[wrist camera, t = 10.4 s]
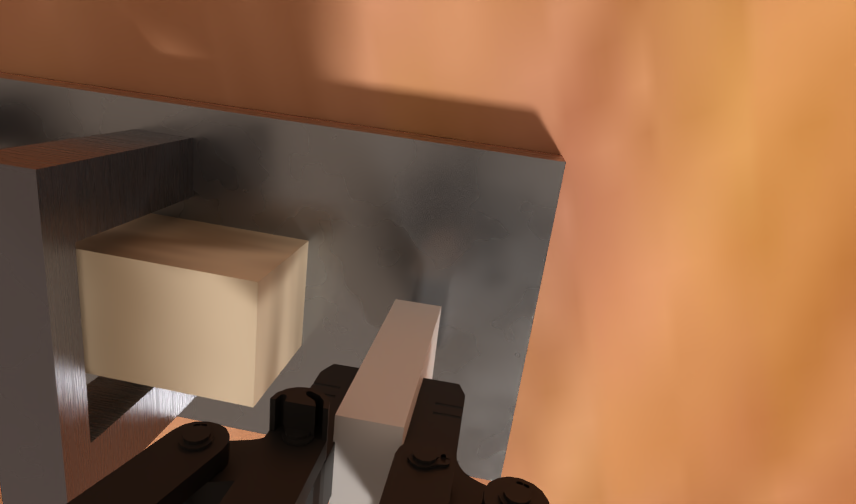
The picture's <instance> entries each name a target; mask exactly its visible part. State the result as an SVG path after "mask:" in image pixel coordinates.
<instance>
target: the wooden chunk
mask: <svg viewBox="0 0 856 504" xmlns="http://www.w3.org/2000/svg"><path fill="white" fill-rule="evenodd" d="M308 243H309V241H308V240H302V239H296V238H290V237H285V236H279V235H273V234H268V233H262V232H256V231H250V230H245V229H239V228H233V227H227V226H222V225H216V224H210V223H205V222H199V221H193V220H187V219H182V218H176V217H170V216H164V215H159V214H153V213H150V214H147V215H145V216H142V217H140V218H137V219H134V220H132V221H129V222H127V223H124V224H122V225H119V226H116V227H114V228H111V229H109V230H106V231H104V232H101V233H98V234H96V235H93V236H91V237H88V238H86V239H83V240H80V241H78V242H75V244H76V258H77V271H78V284H79V297H80V310H81V323H82V336H83V349H84V362H85V373H88V374H93V375H98V376H103V377H108V378H113V379H117V380H122V381H127V382H132V383H137V384H142V385H147V386H151V387H156V388H161V389H166V390H171V391H176V392H181V393H185V394H190V395H195V396H200V397H205V398H210V399H215V400H220V401H224V402H229V403H234V404H239V405H244V406H249V407H254V406H255V405H256V403H257V402H258V401H259V400H260V398H261V397H262V396H263V394H264V393H265V392H266V391H267V389H268V388H269V387H270V385H271V384H272V383H273V382H274V380H275V379H276V378H277V376H278V375H279V374H280V372H281V371H282V370H283V369H284V367H285V366H286V365H287V363H288V362H289V361H290V360H291V358H292V357H293V356H294V354H295V353H296V352H297V351H298V349H299V348H300V347H301V345H302V331H303V316H304V301H305V287H306V272H307V258H308Z"/></svg>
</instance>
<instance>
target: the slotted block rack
mask: <svg viewBox="0 0 856 504" xmlns="http://www.w3.org/2000/svg"><path fill="white" fill-rule="evenodd" d="M565 164H566V161H565V160H564V158H563V156H562V155H557V154H550V153H543V152H536V151H530V150H523V149H516V148H509V147H503V146H496V145H489V144H482V143H476V142H469V141H462V140H455V139H449V138H442V137H435V136H428V135H422V134H415V133H408V132H401V131H395V130H388V129H381V128H374V127H368V126H361V125H354V124H347V123H340V122H334V121H327V120H320V119H313V118H307V117H300V116H293V115H286V114H280V113H273V112H266V111H259V110H253V109H246V108H239V107H232V106H226V105H219V104H212V103H205V102H199V101H192V100H185V99H178V98H172V97H165V96H158V95H151V94H145V93H138V92H131V91H124V90H118V89H111V88H104V87H97V86H91V85H84V84H77V83H70V82H64V81H57V80H50V79H43V78H37V77H30V76H23V75H16V74H10V73H3V72H0V486H1V493H2V500H3V504H67V503H68V502H70V501H71V500H72V499H74V498H75V497H77V496H78V495H80V494H81V493H83V492H84V491H85V490H87V489H88V488H90V487H91V486H93V485H94V484H96V483H97V482H98V481H100V480H101V479H103V478H104V477H106V476H107V475H109V474H110V473H111V472H113V471H114V470H116V469H117V468H119V467H120V466H122V465H123V464H125V463H126V462H127V461H129V460H130V459H132V458H133V457H135V456H136V455H138V454H139V453H140V452H142V451H143V450H144V449H145V448H146V447H147V446H148V445H149V444H150V443H151V442H152V441H153V440H154V439H155V438H156V437H157V436H158V435H159V434H160V433H161V432H162V431H163V430H164V429H165V428H166V427H167V426H168V425H169V424H170V423H171V422H172V421H173V420H174V419H175V418H176V417H177V416H179V417H184V418H189V419H193V420H198V421H208V422H213V423H218V424H220V425H223V426H227V427H232V428H237V429H242V430H247V431H252V432H257V433H262V434H267V433H268V431H269V419H270V398H271V397H272V396H273V395H275V394H276V393H277V392H279V391H282V390H284V389H287V388H294V387H307V388H310V387H311V386H312V384H314V381H315V380H316V378H317V376H318V375H319V373H320V372H321V371H322V370H324V369H326V368H327V367H329V366H331V365H332V364H339V365H345V366H350V367H356V368H360V366H361V364H362V362H363V361H364V359H365V357H366V355H367V353H368V351H369V349H370V347H371V345H372V343H373V341H374V340H375V338H376V336H377V334H378V332H379V330H380V328H381V326H382V324H383V322H384V320H385V319H386V317H387V315H388V313H389V311H390V309H391V307H392V305H393V303H394V301H395V299H398V300H404V301H411V302H417V303H423V304H430V305H436V306H441V314H440V322H439V330H438V337H437V345H436V353H435V361H434V369H433V377H432V379H433V380H439V381H445V382H451V383H456V384H460V386H461V388H462V390H463V392H464V394H465V401H464V408H463V414H462V421H461V428H460V435H459V441H458V448H457V461H458V464H459V466H460V467H461V469H462V470H463V471H464V472H465V473H466V474H467V475H468V476H471V477H476V478H481V479H486V480H490V481H493V480H495V479H497V478H501V473H502V468H503V463H504V459H505V454H506V449H507V444H508V439H509V434H510V430H511V425H512V420H513V415H514V410H515V406H516V401H517V396H518V391H519V386H520V381H521V377H522V372H523V367H524V362H525V357H526V352H527V348H528V343H529V338H530V333H531V328H532V323H533V319H534V314H535V309H536V304H537V299H538V294H539V290H540V285H541V280H542V275H543V270H544V265H545V261H546V256H547V251H548V246H549V241H550V236H551V232H552V227H553V222H554V217H555V212H556V207H557V203H558V198H559V193H560V188H561V183H562V178H563V174H564V169H565ZM150 213H153V214H159V215H164V216H170V217H176V218H182V219H187V220H193V221H199V222H205V223H210V224H216V225H222V226H227V227H233V228H239V229H245V230H250V231H256V232H262V233H268V234H273V235H279V236H285V237H290V238H296V239H302V240H308V241H309V243H308V258H307V272H306V287H305V301H304V316H303V331H302V345H301V347H300V348H299V349H298V351H297V352H296V353H295V354H294V356H293V357H292V358H291V360H290V361H289V362H288V363H287V365H286V366H285V367H284V369H283V370H282V371H281V372H280V374H279V375H278V376H277V378H276V379H275V380H274V382H273V383H272V384H271V385H270V387H269V388H268V389H267V391H266V392H265V393H264V394H263V396H262V397H261V398H260V400H259V401H258V402H257V403H256V405H255V406H254V407H249V406H244V405H239V404H234V403H229V402H224V401H220V400H215V399H210V398H205V397H200V396H195V395H190V394H185V393H181V392H176V391H171V390H166V389H161V388H156V387H151V386H147V385H142V384H137V383H132V382H127V381H122V380H117V379H113V378H108V377H103V376H98V375H93V374H88V373H85V362H84V349H83V336H82V323H81V310H80V297H79V284H78V271H77V258H76V244H75V242H78V241H80V240H83V239H86V238H88V237H91V236H93V235H96V234H98V233H101V232H104V231H106V230H109V229H111V228H114V227H116V226H119V225H122V224H124V223H127V222H129V221H132V220H134V219H137V218H140V217H142V216H145V215H147V214H150Z"/></svg>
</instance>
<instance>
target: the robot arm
mask: <svg viewBox="0 0 856 504" xmlns="http://www.w3.org/2000/svg"><path fill="white" fill-rule="evenodd" d="M440 314H441V306H436V305H430V304H423V303H417V302H411V301H404V300H398V299H395V301H394V303H393V305H392V307H391V309H390V311H389V313H388V315H387V317H386V319H385V320H384V322H383V324H382V326H381V328H380V330H379V332H378V334H377V336H376V338H375V340H374V341H373V343H372V345H371V347H370V349H369V351H368V353H367V355H366V357H365V359H364V361H363V362H362V364H361V366H360V368H356V367H350V366H345V365H339V364H332V365H331V366H329V367H327V368H326V369H324V370H322V371H321V372H320V373H319V375H318V376H317V378H316V380H315V381H314V384H312V386H311V387H310V388H307V387H294V388H287V389H284V390H282V391H279V392H277V393H276V394H275V395H273V396H272V397H271V398H270V419H269V431H268V433H267V434H266V436H265V437H264V438H261V439H255V440H238V441H229V433H228V431H227V429H226V428H225V427H223V426H221V425H220V424H218V423H213V422H208V421H203V422H192V423H188V424H184V425H182V426H180V427H178V428H176V429H174V430H172V431H171V432H169V433H168V434H166V435H165V436H164V437H162V438H161V439H159V440H158V441H156V442H155V443H153V444H152V445H151V446H149V447H148V448H146V449H145V450H143V451H142V452H140V453H139V454H138V455H136V456H135V457H133V458H132V459H130V460H129V461H127V462H126V463H125V464H123V465H122V466H120V467H119V468H117V469H116V470H114V471H113V472H111V473H110V474H109V475H107V476H106V477H104V478H103V479H101V480H100V481H98V482H97V483H96V484H94V485H93V486H91V487H90V488H88V489H87V490H85V491H84V492H83V493H81V494H80V495H78V496H77V497H75V498H74V499H72V500H71V501H70V502H68V503H67V504H328V502H329V504H549V501H548V499H547V498H546V496H545V495H544V493H543V492H542V491H541V490H540V489H539V488H537V487H536V486H535V485H534V484H532V483H530V482H528V481H525V480H523V479H520V478H514V477H502V478H497V479H495V480H493V481H491V482H489V483H488V485H487V486H486V485H484V484H482V483H480V482H478V481H476V480H474V479H472V478H471V477H469V476H468V475H467V474H466V473H465V472H464V471H463V470H462V469H461V467H460V466H459V464H458V461H457V448H458V441H459V435H460V428H461V421H462V414H463V408H464V401H465V394H464V392H463V390H462V388H461V386H460V384H456V383H451V382H445V381H439V380H433V379H432V377H433V369H434V361H435V353H436V345H437V337H438V330H439V322H440Z"/></svg>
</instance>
